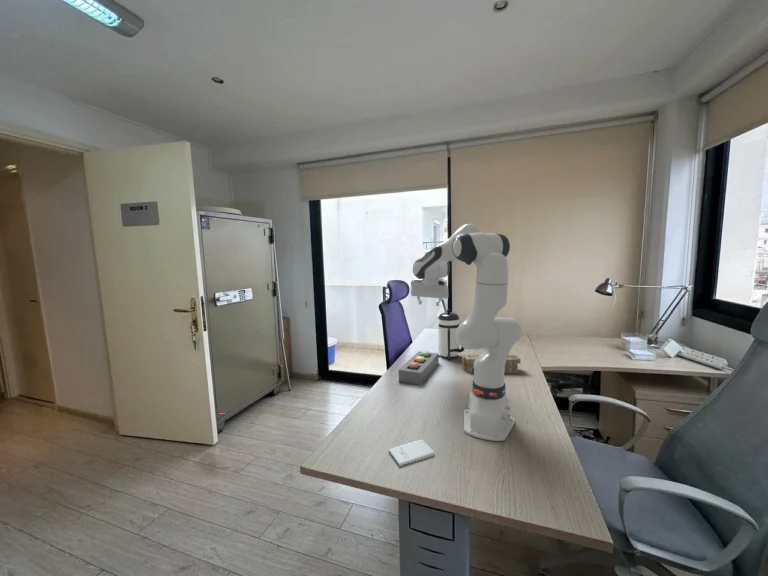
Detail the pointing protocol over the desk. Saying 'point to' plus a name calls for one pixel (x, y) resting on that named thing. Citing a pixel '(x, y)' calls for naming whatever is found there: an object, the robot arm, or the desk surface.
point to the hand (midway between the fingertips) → (428, 304)
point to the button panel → (423, 371)
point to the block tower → (510, 364)
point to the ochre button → (419, 359)
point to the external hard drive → (411, 452)
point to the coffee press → (448, 334)
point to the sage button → (425, 353)
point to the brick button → (413, 365)
